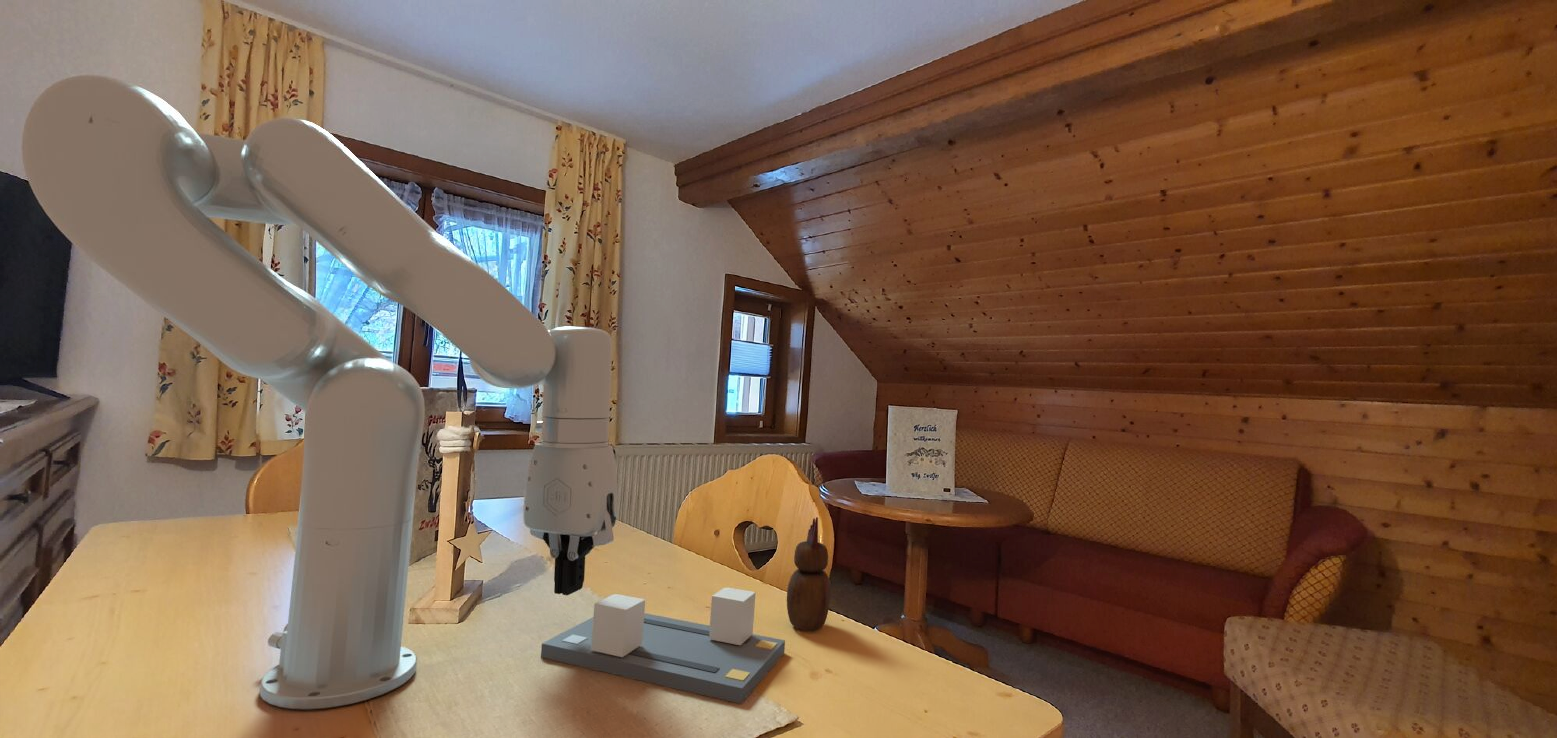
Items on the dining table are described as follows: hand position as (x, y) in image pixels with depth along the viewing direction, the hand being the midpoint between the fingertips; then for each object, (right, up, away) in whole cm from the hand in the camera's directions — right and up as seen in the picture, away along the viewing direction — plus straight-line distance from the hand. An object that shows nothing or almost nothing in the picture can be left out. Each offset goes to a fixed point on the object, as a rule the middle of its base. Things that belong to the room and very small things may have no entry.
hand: (568, 590), depth 73 cm
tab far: (+19, -6, +2) cm, 20 cm away
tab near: (+6, -5, -3) cm, 9 cm away
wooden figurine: (+28, -9, +12) cm, 32 cm away
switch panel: (+11, -7, 0) cm, 14 cm away
